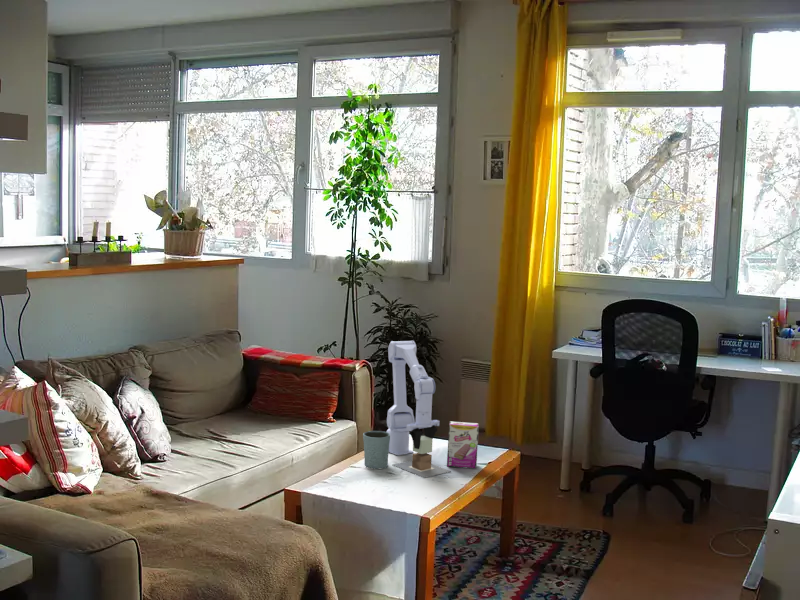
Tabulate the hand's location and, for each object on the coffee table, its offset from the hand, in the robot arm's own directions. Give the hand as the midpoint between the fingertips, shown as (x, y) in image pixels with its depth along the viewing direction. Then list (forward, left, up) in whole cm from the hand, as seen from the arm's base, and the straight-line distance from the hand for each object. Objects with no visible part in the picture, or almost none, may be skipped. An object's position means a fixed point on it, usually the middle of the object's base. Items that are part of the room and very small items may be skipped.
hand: (422, 447), depth 314 cm
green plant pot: (-12, -12, -8) cm, 19 cm away
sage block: (0, 0, -2) cm, 2 cm away
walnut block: (0, 0, -8) cm, 8 cm away
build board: (0, 0, -8) cm, 8 cm away
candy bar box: (+6, +15, -8) cm, 18 cm away
